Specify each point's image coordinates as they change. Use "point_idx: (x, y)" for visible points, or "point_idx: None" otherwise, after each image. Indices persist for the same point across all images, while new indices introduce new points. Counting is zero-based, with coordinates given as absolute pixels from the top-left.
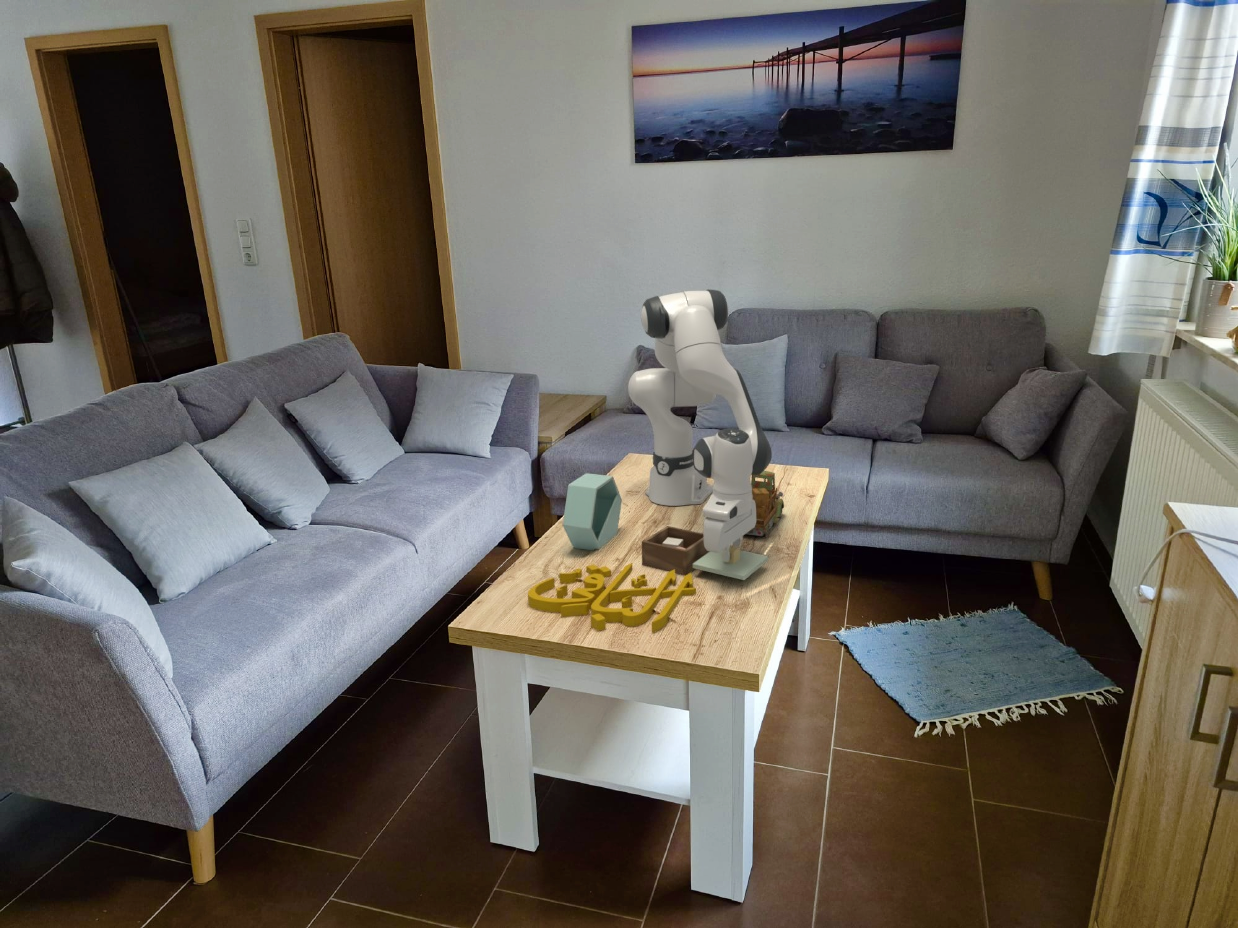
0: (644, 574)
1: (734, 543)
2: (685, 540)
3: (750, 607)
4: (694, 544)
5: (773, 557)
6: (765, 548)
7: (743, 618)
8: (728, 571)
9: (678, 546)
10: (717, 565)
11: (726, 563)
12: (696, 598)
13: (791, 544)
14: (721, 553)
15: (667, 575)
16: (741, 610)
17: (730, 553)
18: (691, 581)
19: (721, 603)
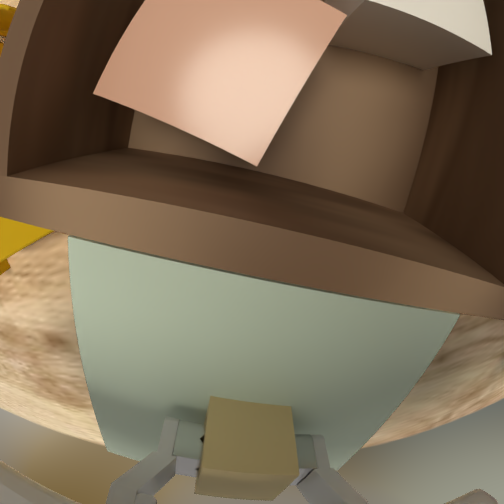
0: (6, 9)
1: (318, 487)
2: (496, 74)
3: (66, 407)
4: (217, 239)
5: (430, 406)
6: (489, 367)
7: (20, 389)
8: (103, 418)
9: (375, 10)
10: (133, 381)
11: (186, 413)
12: (7, 270)
13: (491, 399)
14: (152, 452)
15: None
16: (41, 389)
17: (187, 475)
18: (3, 254)
19: (32, 347)
